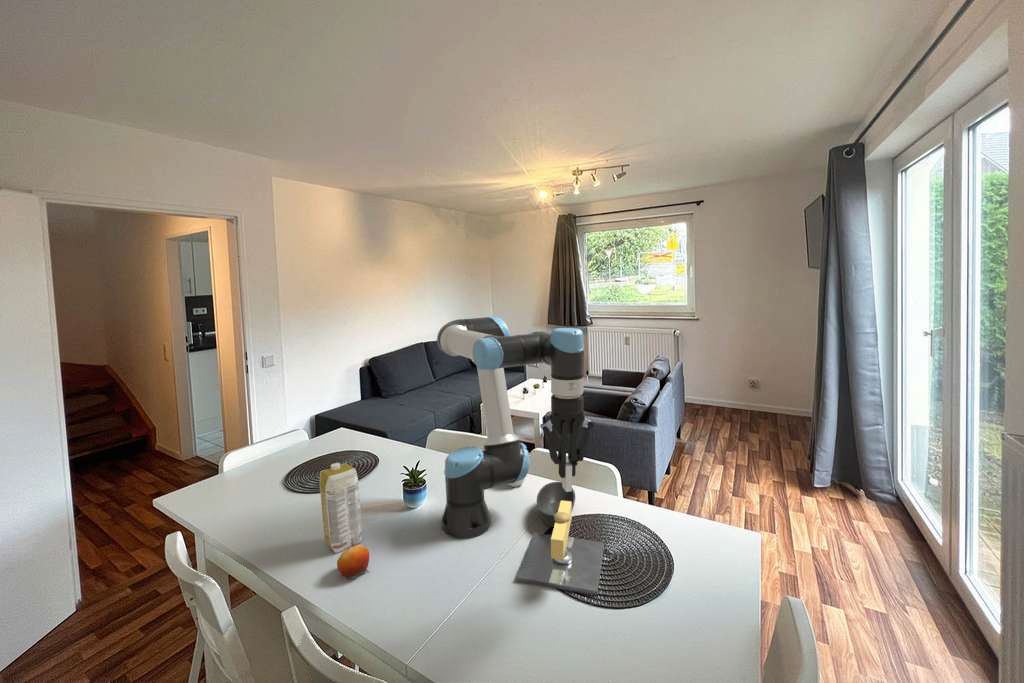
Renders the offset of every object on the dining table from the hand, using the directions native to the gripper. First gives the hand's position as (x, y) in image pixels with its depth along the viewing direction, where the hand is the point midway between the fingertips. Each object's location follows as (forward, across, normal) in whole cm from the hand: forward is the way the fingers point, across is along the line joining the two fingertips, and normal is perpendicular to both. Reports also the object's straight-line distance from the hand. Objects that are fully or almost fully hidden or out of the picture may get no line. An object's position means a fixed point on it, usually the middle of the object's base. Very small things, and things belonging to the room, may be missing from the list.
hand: (567, 488), depth 104 cm
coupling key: (+17, +1, +6) cm, 18 cm away
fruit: (+25, -52, +18) cm, 61 cm away
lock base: (+24, +1, +6) cm, 25 cm away
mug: (+26, -2, +55) cm, 61 cm away
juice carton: (+25, -57, +32) cm, 70 cm away
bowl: (+25, +8, +29) cm, 39 cm away
